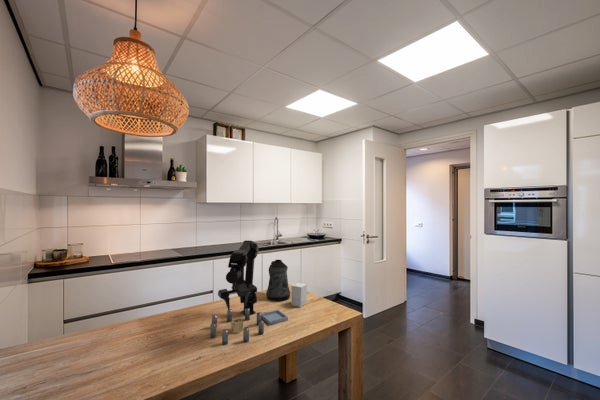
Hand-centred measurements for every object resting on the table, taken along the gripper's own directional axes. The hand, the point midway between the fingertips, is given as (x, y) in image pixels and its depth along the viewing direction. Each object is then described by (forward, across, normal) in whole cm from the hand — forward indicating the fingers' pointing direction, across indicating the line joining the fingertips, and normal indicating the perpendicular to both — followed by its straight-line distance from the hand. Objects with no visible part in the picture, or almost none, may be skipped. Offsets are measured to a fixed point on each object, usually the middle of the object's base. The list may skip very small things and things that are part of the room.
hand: (237, 308), depth 135 cm
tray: (+11, +22, +2) cm, 25 cm away
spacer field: (+11, 0, 0) cm, 11 cm away
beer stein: (+12, +39, +31) cm, 51 cm away
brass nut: (+11, 0, 0) cm, 11 cm away
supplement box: (+12, +45, +12) cm, 48 cm away
